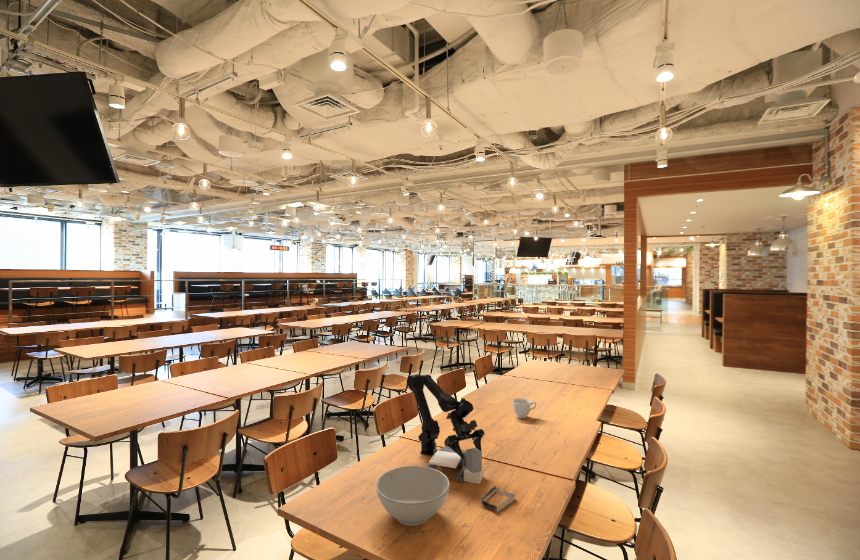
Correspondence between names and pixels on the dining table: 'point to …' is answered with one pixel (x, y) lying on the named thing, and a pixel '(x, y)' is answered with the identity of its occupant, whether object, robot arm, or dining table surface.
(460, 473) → the frame
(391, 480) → the decorative bowl
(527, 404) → the teacup
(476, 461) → the stone
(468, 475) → the light grey block
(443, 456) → the trapdoor
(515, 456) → the dining table surface
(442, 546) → the dining table surface
